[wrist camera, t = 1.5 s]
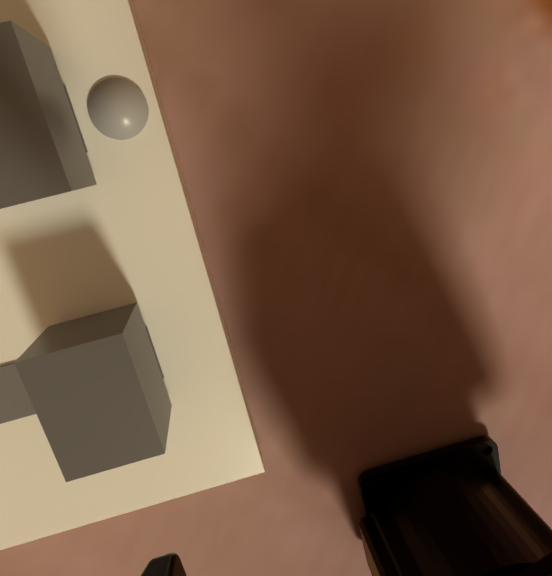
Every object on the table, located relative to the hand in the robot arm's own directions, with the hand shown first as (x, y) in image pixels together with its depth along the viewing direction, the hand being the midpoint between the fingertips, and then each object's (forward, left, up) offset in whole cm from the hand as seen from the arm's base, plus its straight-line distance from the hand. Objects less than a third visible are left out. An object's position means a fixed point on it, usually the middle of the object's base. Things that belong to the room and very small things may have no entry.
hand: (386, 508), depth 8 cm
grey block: (+6, 0, -10) cm, 12 cm away
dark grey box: (+6, -8, -10) cm, 14 cm away
